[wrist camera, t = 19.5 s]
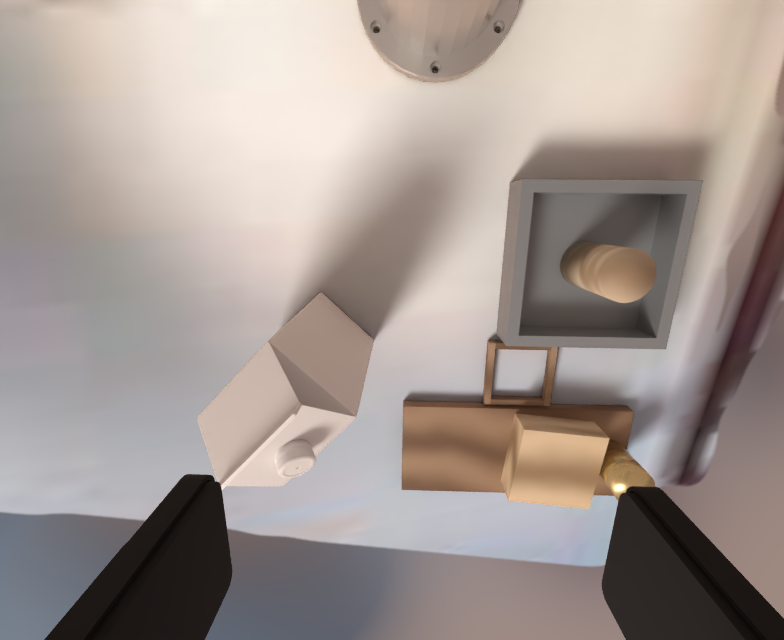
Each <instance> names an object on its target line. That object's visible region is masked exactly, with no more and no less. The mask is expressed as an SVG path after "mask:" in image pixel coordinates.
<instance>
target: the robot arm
mask: <svg viewBox="0 0 784 640" xmlns="http://www.w3.org/2000/svg"><path fill="white" fill-rule="evenodd" d="M519 1H520V0H357V3H358V8H359V13H360V17H361V20H362V23H363V26H364V29H365V32H366V34H367V36H368V38H369V40H370V42H371V43H372V45H373V47H374V49H375V50H376V51H377V52H378V54H379V55H380V56H381V57H382V58H383V60H384V61H385V62H386V63H388V64H389V65H390V66H391V67H393V68H394V69H395V70H396V71H398V72H400V73H402V74H404V75H406V76H408V77H409V78H413V79H417V80H420V81H424V82H443V81H449V80H454V79H457V78H459V77H462V76H464V75H467V74H468V73H470V72H472V71H473V70H475V69H476V68H478V67H480V66H481V65H482V64H483V63H484V62H485V61H486V60H487V59H488V58H489V57H491V56H492V55H493V53H494V52H495V51H496V49H497V48H498V47H499V45H500V44H501V43H502V41H503V40H504V38H505V36H506V34H507V33H508V31H509V29H510V27H511V24H512V22H513V20H514V17H515V15H516V13H517V9H518V5H519ZM375 29H379V30H380V31H379V33H374V30H375ZM494 29H498V30H499V33H496V32H495V31H494ZM433 68H437V70H438V72H437V73H433V72H432V69H433ZM231 578H232V564H231V557H230V549H229V542H228V534H227V527H226V519H225V512H224V504H223V497H222V489H221V484H220V483H219V482H215V480H214V477H213V476H212V475H195V474H187V475H184V476H183V477H182V478H181V479H180V481H179V482H178V483H177V484H176V485H175V487H174V488H173V489H172V490H171V491H170V492H169V494H168V495H167V496H166V497H165V498H164V500H163V501H162V502H161V503H160V504H159V506H158V507H157V508H156V509H155V510H154V512H153V513H152V514H151V515H150V516H149V517H148V519H147V520H146V521H145V522H144V523H143V525H142V526H141V527H140V528H139V530H138V531H137V532H136V533H135V534H134V535H133V537H132V538H131V539H130V540H129V541H128V542H127V543H126V544H125V545H124V546H123V547H122V548H121V549H120V551H119V552H118V553H117V554H116V555H115V557H114V558H113V559H112V560H111V561H110V562H109V564H108V565H107V566H106V567H105V568H104V570H103V571H102V572H101V573H100V574H99V576H98V577H97V578H96V579H95V580H94V581H93V583H92V584H91V585H90V586H89V588H88V589H87V590H86V591H85V592H84V594H82V596H81V597H80V598H79V599H78V601H77V602H76V603H75V604H74V605H73V606H72V608H71V609H70V610H69V611H68V612H67V613H66V615H65V616H64V617H63V618H62V619H61V621H60V622H59V623H58V624H57V625H56V627H55V628H54V629H53V630H52V631H51V632H50V634H49V635H48V636H47V637H46V638H45V640H205V638H206V636H207V634H208V631H209V629H210V627H211V625H212V623H213V621H214V619H215V616H216V614H217V612H218V610H219V608H220V606H221V604H222V601H223V599H224V597H225V595H226V593H227V591H228V588H229V586H230V582H231ZM602 590H603V594H604V597H605V600H606V602H607V604H608V606H609V608H610V610H611V612H612V614H613V616H614V618H615V619H616V621H617V623H618V625H619V627H620V629H621V630H622V633H623V635H624V637H625V638H626V640H784V618H782V616H781V615H780V614H779V613H778V612H777V611H776V610H775V609H774V608H773V607H772V606H771V605H770V604H769V603H768V602H767V601H766V599H765V598H764V597H763V596H762V595H761V594H760V593H759V592H758V591H757V590H756V589H755V588H754V587H753V586H752V585H751V584H750V583H749V581H748V580H747V579H746V578H745V577H744V576H743V575H742V574H741V573H740V572H739V571H738V570H737V569H736V568H735V567H734V566H733V564H732V563H730V561H729V560H728V559H727V558H726V557H725V556H724V555H723V554H722V553H721V552H720V551H719V550H718V549H717V548H716V546H715V545H714V544H713V543H712V542H711V541H710V540H709V539H708V538H707V537H706V536H705V535H704V534H703V533H702V532H701V531H700V530H699V528H698V527H697V526H696V525H695V524H694V523H693V522H692V521H691V520H690V519H689V518H688V517H687V516H686V515H685V514H684V513H683V512H682V510H680V508H679V507H678V506H677V505H676V504H675V503H674V502H673V501H672V500H671V499H670V498H669V497H668V496H667V495H666V494H665V493H664V491H662V490H661V489H660V488H658V487H643V486H631V487H629V488H628V489H627V490H626V493H622V494H621V495H620V497H619V501H618V506H617V511H616V516H615V521H614V526H613V530H612V535H611V540H610V545H609V550H608V555H607V559H606V564H605V569H604V574H603V579H602Z"/></svg>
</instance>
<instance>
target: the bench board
mask: <svg viewBox="0 0 784 640" xmlns="http://www.w3.org/2000/svg"><path fill="white" fill-rule="evenodd" d="M515 413H518V414H527V415H537V416H546V417H556V418H566V419H575V420H585V421H594V422H595V423H596V424H597V425H598V426H599V427H600V429H601V430H602V431H603V432H604V433H605V434H606V435H607V436H608V437H609V438H610V440H614V441H617V442H618V443H619V444H621V446H622V447H623V448H624V449H625V450H626V449H627V444H628V439H629V435H630V430H631V425H632V420H633V415H634V411H633V410H632V409H630V408H629V407H628V406H611V405H567V404H550V406H523V405H484V403H477V402H432V401H403V447H402V490H430V491H466V492H502V493H505V490H504V487H503V485H502V482H501V477H502V472H503V468H504V463H505V458H506V454H507V449H508V444H509V439H510V435H511V430H512V425H513V420H514V416H515ZM593 495H610V496H614V494H613V493H612V492H611V490H610V489H609V488H608V486H607V485H606V484H605V483H604V481H603V480H602V479H601V477H600V476H599V477H598V480H597V483H596V487H595V490H594V494H593Z"/></svg>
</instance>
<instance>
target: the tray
mask: <svg viewBox="0 0 784 640" xmlns="http://www.w3.org/2000/svg"><path fill="white" fill-rule="evenodd" d="M702 183H703V180H595V179H520V180H517V181H514V182H511V183H510V189H509V200H508V211H507V222H506V233H505V245H504V256H503V267H502V278H501V289H500V300H499V311H498V323H497V335H498V336H499V338H500V339H501V340H502V341H503V343H504V344H505V345H506V346H526V347H579V348H632V349H666V347H667V342H668V338H669V333H670V329H671V324H672V319H673V315H674V310H675V306H676V301H677V297H678V292H679V288H680V283H681V278H682V274H683V269H684V265H685V260H686V256H687V251H688V247H689V242H690V237H691V233H692V228H693V224H694V219H695V215H696V210H697V206H698V201H699V196H700V192H701V187H702ZM579 242H593V243H600V244H607V245H613V246H620V247H627V248H634V249H640V250H643V251H645V252H647V253H648V254H649V255H650V256H651V257H652V258H653V259H654V261H655V264H656V269H657V273H656V279H655V282H654V284H653V286H652V287H651V289H650V290H649V291H648V293H647V294H646V295H644V296H643V297H642V298H640V299H638V300H636V301H633V302H629V303H619V302H616V301H613V300H610V299H608V298H605V297H603V296H600V295H598V294H595V293H593V292H590V291H588V290H585V289H582V288H580V287H577V286H575V285H572V284H570V283H568V282H567V281H566V280H565V279H564V278H563V276H562V274H561V271H560V262H561V258H562V256H563V254H564V253H565V251H566V250H567V249H568V248H569V247H571V246H572V245H574V244H576V243H579Z"/></svg>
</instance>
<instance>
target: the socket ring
mask: <svg viewBox="0 0 784 640" xmlns="http://www.w3.org/2000/svg"><path fill="white" fill-rule="evenodd" d="M495 349H519V350H548V353H547V361H546V369H545V376H544V384H543V392H542V397H524V396H491V391H492V380H493V369H494V358H495ZM557 351H558V347H526V346H506V345H505V344H504V343H503V341H491V340H488V343H487V355H486V367H485V379H484V391H483V403H484V405H523V406H550V402H551V395H552V387H553V380H554V373H555V366H556V358H557Z"/></svg>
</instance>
